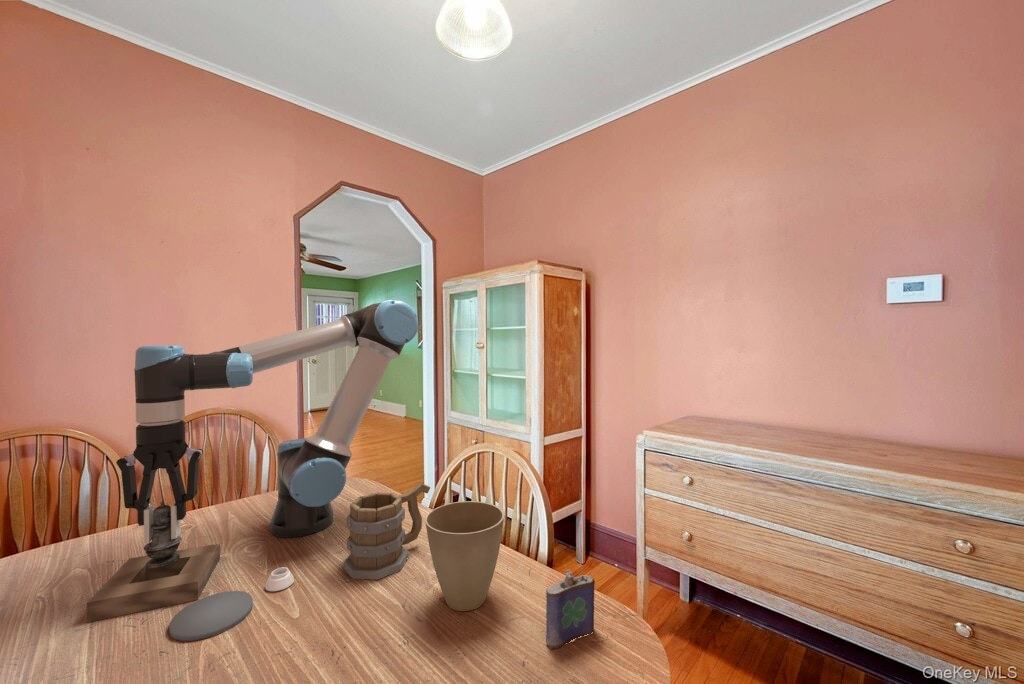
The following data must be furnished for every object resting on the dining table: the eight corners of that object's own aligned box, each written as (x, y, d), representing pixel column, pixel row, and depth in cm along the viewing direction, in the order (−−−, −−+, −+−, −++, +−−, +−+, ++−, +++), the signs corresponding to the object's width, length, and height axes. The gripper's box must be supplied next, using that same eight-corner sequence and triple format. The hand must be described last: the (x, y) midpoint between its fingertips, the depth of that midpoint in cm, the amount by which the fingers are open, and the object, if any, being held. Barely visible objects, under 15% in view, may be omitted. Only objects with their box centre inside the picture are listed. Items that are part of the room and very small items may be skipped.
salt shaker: (159, 570, 79) (158, 508, 79) (135, 567, 80) (134, 506, 80) (189, 554, 85) (188, 496, 85) (166, 551, 86) (165, 494, 86)
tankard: (359, 587, 82) (358, 513, 82) (337, 562, 92) (337, 495, 91) (444, 553, 95) (444, 488, 95) (418, 534, 105) (418, 475, 105)
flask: (551, 652, 65) (551, 584, 65) (541, 640, 68) (541, 574, 68) (597, 633, 69) (597, 569, 69) (587, 622, 72) (587, 561, 72)
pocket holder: (220, 558, 93) (219, 543, 93) (198, 599, 78) (197, 581, 78) (129, 574, 87) (129, 558, 87) (86, 622, 72) (86, 602, 72)
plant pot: (514, 584, 83) (514, 505, 83) (486, 634, 69) (486, 539, 69) (448, 571, 88) (448, 496, 88) (409, 615, 74) (409, 526, 74)
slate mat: (257, 590, 81) (257, 585, 81) (245, 629, 70) (245, 623, 70) (183, 605, 77) (183, 600, 77) (157, 650, 66) (157, 643, 66)
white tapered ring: (281, 576, 86) (259, 590, 82) (281, 562, 86) (259, 575, 82) (299, 581, 84) (278, 595, 80) (299, 567, 84) (278, 580, 80)
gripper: (215, 415, 89) (217, 522, 89) (116, 422, 83) (118, 537, 83) (205, 421, 82) (207, 537, 82) (96, 429, 76) (98, 555, 76)
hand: (163, 537), depth 83 cm, fingers closed on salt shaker, 3 cm apart
